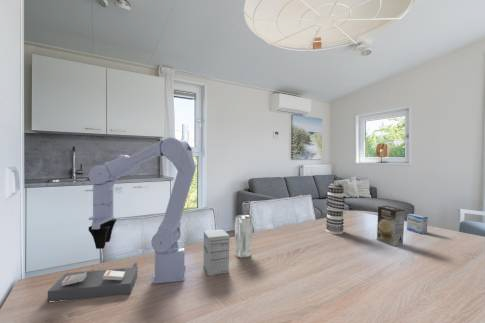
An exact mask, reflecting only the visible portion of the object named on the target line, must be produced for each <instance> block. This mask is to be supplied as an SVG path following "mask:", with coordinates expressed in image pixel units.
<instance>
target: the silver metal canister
mask: <svg viewBox="0 0 485 323" xmlns="http://www.w3.org/2000/svg"><path fill="white" fill-rule="evenodd" d="M234 218H235V219H234V236H235V237H234V238H235V243H236V247H235V249H236V250H235V256H236V257H237V258H240V259H247V258H249V257H251V255H252V252H251V241H252V236H253V216H251V215H249V214H248V215H247V214H239V215H235V217H234Z"/></svg>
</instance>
